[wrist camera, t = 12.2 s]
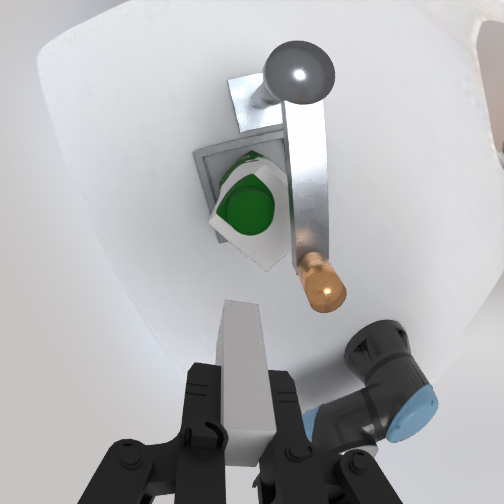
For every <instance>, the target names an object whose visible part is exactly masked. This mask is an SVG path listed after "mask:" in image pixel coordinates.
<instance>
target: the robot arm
mask: <svg viewBox="0 0 504 504" xmlns="http://www.w3.org/2000/svg"><path fill="white" fill-rule="evenodd" d="M345 360H346V363H347V365H348V367H349V369H350V370H351V371H352V372H353V373H354V374H355V375H356V376H357V377H358V378H359V379H360V380H361V381H362V382H363V383H364V384H365V386H366V387H365V388H363V389H361V390H358V391H356V392H354V393H351V394H349V395H346V396H344V397H342V398H339V399H337V400H334V401H331V402H329V403H326V404H321V405H319V406H318V407H316V408H314V409H311V410H309V411H307V412H305V413H304V414H303V416H302V414H301V410H300V405H299V403H298V396H297V394H296V387H295V383H294V380H293V379H292V378H291V376H290V375H289V373H288V372H287V371H276V370H268V368H267V361H266V354H265V347H264V340H263V333H262V326H261V319H260V313H259V306H258V304H252V303H245V302H238V301H231V300H225V303H224V308H223V313H222V318H221V324H220V329H219V334H218V339H217V344H216V365H211V364H203V363H197V362H195V363H194V364H193V365H192V367H191V368H190V369H189V371H188V374H187V382H186V390H185V399H184V406H183V415H182V425H181V429H180V432H179V433H178V435H177V436H176V437H175V438H174V439H173V440H171V441H169V442H167V443H162V444H155V445H144V444H143V443H141V442H140V441H137V440H133V439H122V440H119V441H117V442H115V443H114V444H113V445H112V446H111V447H110V448H109V449H108V451H107V453H106V455H105V456H104V458H103V460H102V461H101V463H100V465H99V467H98V468H97V470H96V472H95V473H94V475H93V477H92V479H91V480H90V482H89V484H88V486H87V488H86V489H85V491H84V493H83V494H82V496H81V498H80V500H79V502H78V503H77V504H152V502H153V500H154V498H155V496H158V495H166V494H174V493H175V500H174V504H226V488H225V465H226V466H247V467H256V466H257V464H258V462H259V466H260V473H259V475H258V476H257V477H256V479H255V480H254V482H253V486H252V487H254V488H255V487H256V486H257V487H258V499H259V504H403V503H402V501H401V500H400V498H399V497H398V495H397V494H396V492H395V491H394V489H393V487H392V486H391V484H390V483H389V481H388V480H387V478H386V476H385V475H384V473H383V472H382V470H381V469H380V467H379V466H378V464H377V462H376V461H375V459H374V457H375V456H376V454H377V452H378V447H377V444H376V442H378V441H380V440H382V439H385V438H386V439H387V440H388V441H389V442H391V443H397V442H399V441H403V440H405V439H407V438H409V437H411V436H413V435H414V434H415V433H417V432H418V431H420V430H421V429H422V428H423V427H424V426H425V425H426V424H427V423H428V422H429V421H430V420H431V419H432V417H433V416H434V414H435V413H436V411H437V408H438V399H437V397H436V395H435V393H434V391H433V387H432V385H431V384H430V383H429V382H428V380H427V379H426V377H425V375H424V374H423V372H422V371H421V369H420V367H419V366H418V364H417V363H416V361H415V360H414V358H413V356H412V355H411V350H410V345H409V340H408V336H407V333H406V331H405V330H404V328H403V327H402V326H401V324H399V323H398V322H396V321H392V320H384V321H379V322H376V323H373V324H371V325H369V326H367V327H365V328H364V329H362V330H361V331H360V332H358V333H357V334H356V335H355V336H354V337H353V338H352V340H351V341H350V342H349V344H348V346H347V348H346V351H345Z"/></svg>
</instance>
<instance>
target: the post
mask: <svg viewBox="0 0 504 504" xmlns="http://www.w3.org/2000/svg"><path fill="white" fill-rule="evenodd" d="M228 84H229V88H230V92H231V96H232V100H233V104H234V108H235V112H236V116H237V120H238V124H239V128H240V132H243V131H247V130H252V129H256V128H261V127H265V126H270V125H275V124H280V123H282V114H281V104H280V102H279V101H277V100H276V99H274V98H273V97H272V96H271V95H270V94H269V92H268V91H267V89H266V87H265V85H264V82H263V76H262V73H258V74H253V75H248V76H243V77H238V78H234V79H229V80H228Z"/></svg>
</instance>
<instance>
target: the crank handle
mask: <svg viewBox="0 0 504 504" xmlns="http://www.w3.org/2000/svg"><path fill="white" fill-rule="evenodd" d="M262 76H263V82H264V85H265V87H266V89H267V91H268V92H269V94H270V95H271V96H272V97H273V98H274V99H276V100H277V101H279V102H280V104H281V114H282V124H283V135H284V146H285V158H286V170H287V183H288V197H289V212H290V228H291V246H292V264H293V267H294V269H295V272H296V274H297V275H299V278H300V280H301V283H302V285H303V288H304V290H305V293H306V295H307V298H308V300H309V303H310V305H311V307H312V308H313V309H314V310H315V311H317V312H320V313H328V312H332V311H334V310H336V309H337V308H339V307H340V306H341V305H342V304H343V302H344V301H345V298H346V288H345V286H344V285H343V283H342V282H341V280H340V278H339V277H338V275H337V274H336V272H335V270H334V269H333V267H332V266H331V264H330V263H329V214H328V177H327V156H326V139H325V124H324V112H323V101H322V99H324V98H325V97H326V96H327V95H328V94H329V93H330V91H331V90H332V88H333V85H334V82H335V70H334V66H333V63H332V61H331V59H330V58H329V56H328V55H327V54H326V53H325V52H324V51H323V50H322V49H321V48H319V47H318V46H316V45H314V44H312V43H309V42H305V41H289V42H286V43H283V44H281V45H280V46H278V47H277V48H276V49H274V50H273V52H272V53H271V54H270V56H269V57H268V59H267V61H266V62H265V65H264V67H263V73H262Z"/></svg>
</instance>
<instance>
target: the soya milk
mask: <svg viewBox="0 0 504 504" xmlns="http://www.w3.org/2000/svg"><path fill="white" fill-rule="evenodd" d="M208 223H209V225H211V226H212V227H213V228H214V229H215V230H216V231H218V232H219V233H220V234H221V235H222V236H223V237H225V238H226V239H227V240H228V241H229V242H230V243H232V244H233V245H234V246H235V247H236V248H237V249H239V251H240V252H241V253H243V254H244V255H245V256H246V257H249V258H251V259H252V260H253V261H254V262H255V263H257V264H258V265H259V266H260V267H261V268H263V269H264V270H265V271H266V272H267V271H268V270H269V269H270V268H271V267H272V266H273V265H275V264H276V263H277V262H278V261H279V260H280V259H281V258H282V257H283V256H284V255H285V254H286V253H287V252H288V251H290V250H291V249H292V246H291V228H290V212H289V197H288V183H287V175H286V174H285V173H284V172H283V171H282V170H281V169H280V168H279V167H277V166H276V165H275V164H274V163H273V162H272V161H270V160H269V159H268V158H266V157H265V156H263V155H261V154H258V153H256V152H254V151H250V152H249V153H248V154H247V155H245V156H244V157H243V158H242V159H240V160H239V161H238V162H237V163H236V164H235V165H234V166H233V167H232V168H231V169H230V170H229V171H228V172H227V174H226V175H225V176H224V177H223V179H222V181H221V182H220V196H219V199H218V201H217V203H216V205H215V208H214V210H213V212H212V214H211V216H210V218H209V221H208Z"/></svg>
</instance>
